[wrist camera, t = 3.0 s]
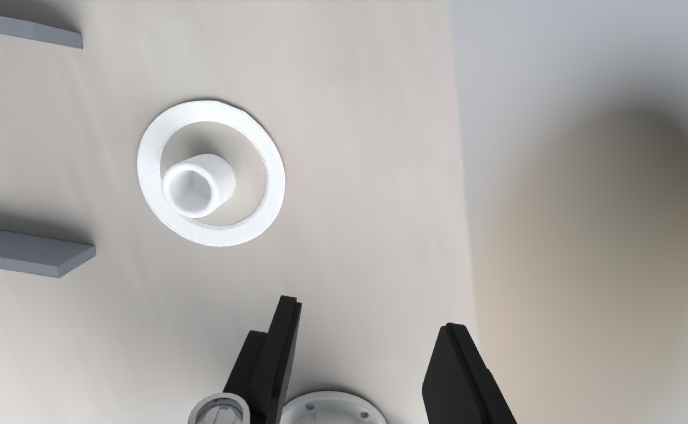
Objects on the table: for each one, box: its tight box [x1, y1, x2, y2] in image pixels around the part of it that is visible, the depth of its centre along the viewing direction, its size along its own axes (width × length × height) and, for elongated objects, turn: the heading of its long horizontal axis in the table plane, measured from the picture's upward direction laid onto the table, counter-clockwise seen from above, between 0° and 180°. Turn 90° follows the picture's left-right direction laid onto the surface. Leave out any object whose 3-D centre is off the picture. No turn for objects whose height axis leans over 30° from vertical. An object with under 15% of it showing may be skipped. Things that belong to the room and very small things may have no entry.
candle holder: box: [137, 100, 285, 247], centre depth 26 cm, size 12×12×4 cm
